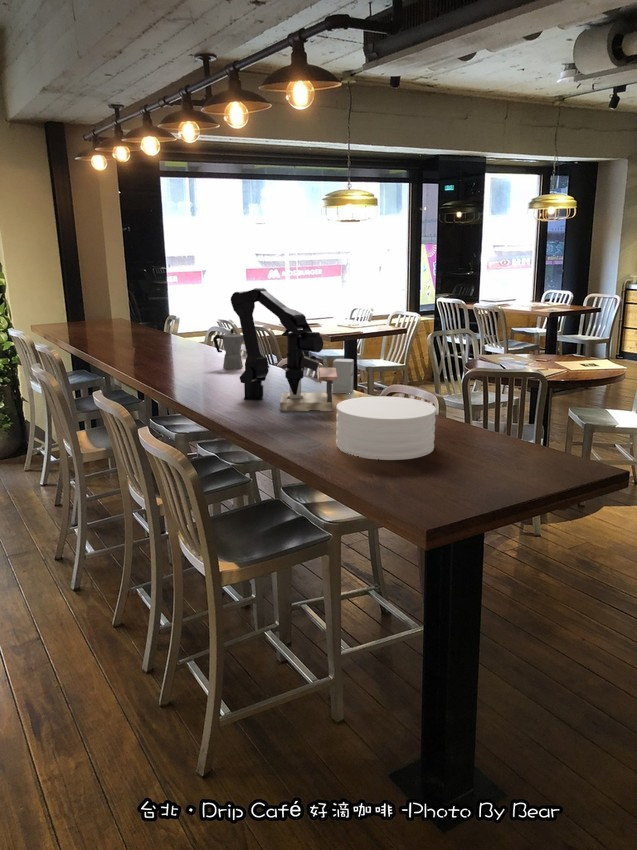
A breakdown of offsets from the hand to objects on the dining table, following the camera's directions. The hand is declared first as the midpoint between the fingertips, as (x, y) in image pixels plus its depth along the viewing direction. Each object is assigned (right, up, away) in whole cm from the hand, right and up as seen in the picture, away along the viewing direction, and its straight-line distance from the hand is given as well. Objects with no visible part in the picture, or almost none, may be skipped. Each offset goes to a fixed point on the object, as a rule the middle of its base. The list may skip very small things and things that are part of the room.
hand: (295, 393), depth 242 cm
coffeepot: (-32, +15, +74) cm, 83 cm away
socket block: (+4, -4, +1) cm, 6 cm away
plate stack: (+27, -17, -46) cm, 56 cm away
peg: (0, -2, +1) cm, 3 cm away
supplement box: (+18, +2, +24) cm, 30 cm away
